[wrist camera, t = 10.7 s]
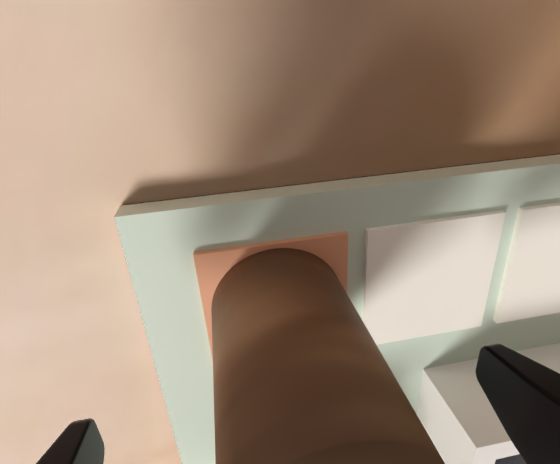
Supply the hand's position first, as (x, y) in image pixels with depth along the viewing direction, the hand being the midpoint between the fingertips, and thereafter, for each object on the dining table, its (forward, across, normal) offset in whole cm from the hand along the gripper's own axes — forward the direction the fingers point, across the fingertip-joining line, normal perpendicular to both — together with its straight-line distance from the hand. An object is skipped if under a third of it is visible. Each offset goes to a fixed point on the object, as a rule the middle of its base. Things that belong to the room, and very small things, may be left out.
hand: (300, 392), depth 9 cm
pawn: (+3, 0, 0) cm, 3 cm away
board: (+4, -5, +5) cm, 8 cm away
